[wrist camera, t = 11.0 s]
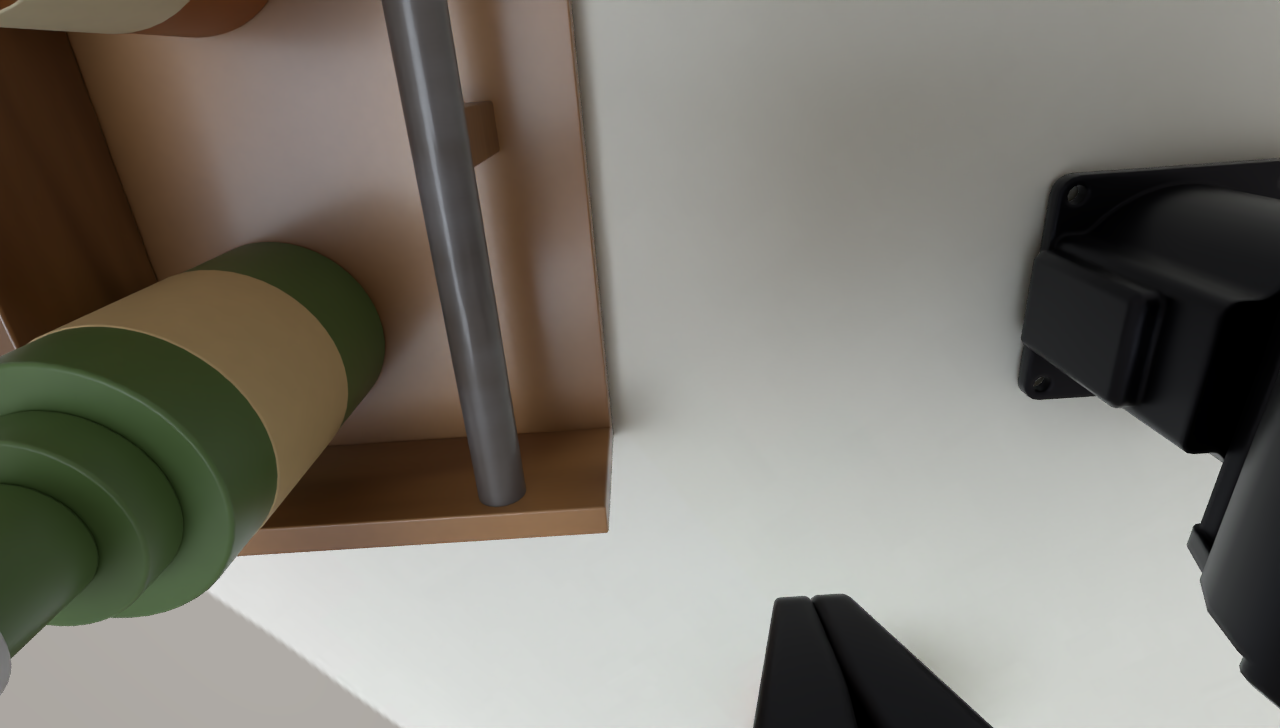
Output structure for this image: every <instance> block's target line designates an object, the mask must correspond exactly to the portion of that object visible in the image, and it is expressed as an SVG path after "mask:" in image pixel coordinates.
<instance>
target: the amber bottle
mask: <svg viewBox="0 0 1280 728" xmlns="http://www.w3.org/2000/svg"><path fill="white" fill-rule="evenodd" d="M267 1H268V0H0V27H4V28H20V29H37V30H53V31H70V32H86V33H103V34H122V33H129V34H144V35H160V36H176V37H193V38H200V37H211V36H216V35H220V34H224V33H227V32H229V31H231V30H234V29H236V28H238V27H240V26H241V25H243V24H245V23H246V22H248V21H249V20H251V19H252V18H253V17H254V16H255V15H256V14H257V13H258V12H259V11H260V10H261V9H262V8H263V7H264V5H265V4H266V3H267Z"/></svg>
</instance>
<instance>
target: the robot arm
mask: <svg viewBox="0 0 1280 728" xmlns="http://www.w3.org/2000/svg"><path fill="white" fill-rule="evenodd" d="M1075 186H1078V194H1077V196H1076V197H1075V198H1074V199H1073V200H1072V201H1068V194H1069V191H1070V190H1071V189H1072V188H1073V187H1075ZM1021 340H1022V342H1023V343H1024V348H1023V354H1022V359H1021V365H1020V371H1019V377H1018V386H1019V388H1020V389H1021V391H1023V392H1024V393H1025V394H1026V395H1027V396H1029V397H1030V398H1032V399H1037V400H1043V399H1058V398H1073V397H1089V396H1097V397H1098V398H1100V399H1101V400H1103V401H1104V402H1105V403H1107V404H1108V405H1110V406H1111V407H1114V408H1123V409H1125V410H1126V411H1128V412H1129V413H1131V414H1132V415H1133V416H1135V417H1136V418H1138V419H1139V420H1141V421H1142V422H1143V423H1145V424H1146V425H1148V426H1149V427H1151V428H1152V429H1153V430H1155V431H1156V432H1158V433H1159V434H1161V435H1162V436H1163V437H1165V438H1166V439H1168V440H1169V441H1171V442H1172V443H1174V444H1175V445H1176V446H1178V447H1179V448H1181V449H1182V450H1184V451H1185V452H1186V453H1191V454H1200V453H1210V454H1211V455H1213V456H1214V457H1216V458H1217V459H1218V460H1220V461H1221V462H1223V464H1222V467H1221V470H1220V472H1219V475H1218V478H1217V480H1216V483H1215V486H1214V489H1213V491H1212V494H1211V497H1210V500H1209V502H1208V505H1207V508H1206V510H1205V513H1204V516H1203V519H1202V521H1201V523H1200V524H1195V525H1194V526H1193V529H1192V532H1191V535H1190V537H1189V540H1188V543H1187V547H1188V549H1189V551H1190V553H1191V554H1192V556H1193V558H1194V560H1195V561H1196V563H1197V565H1198V567H1199V568H1200V570H1201V572H1202V575H1201V578H1200V583H1201V587H1202V591H1203V595H1204V599H1205V603H1206V607H1207V611H1208V612H1209V614H1210V615H1211V616H1212V618H1213V619H1214V620H1215V622H1216V623H1217V624H1218V626H1219V627H1220V628H1221V630H1222V631H1223V632H1224V634H1225V635H1226V636H1227V638H1228V639H1229V640H1230V642H1231V643H1232V644H1233V646H1234V647H1235V648H1236V650H1237V651H1238V652H1239V653H1240V654H1241V655H1242V656H1243V658H1242V661H1241V663H1240V665H1239V666H1240V672H1241V673H1242V674H1243V676H1244V677H1245V678H1246V679H1247V681H1248V682H1249V683H1250V684H1251V685H1252V686H1253V687H1254V688H1255V689H1257V690H1258V691H1259V692H1260V693H1261V694H1263V695H1264V696H1265V697H1266V698H1267V699H1269V700H1270V701H1271V702H1272V703H1273V704H1275V705H1276V706H1277V707H1278V708H1279V709H1280V158H1277V159H1263V160H1249V161H1235V162H1221V163H1207V164H1193V165H1179V166H1165V167H1152V168H1138V169H1124V170H1110V171H1096V172H1082V173H1071V174H1067V175H1064V176H1063V177H1061V178H1060V179H1058V180H1057V181H1056V182H1055V184H1054V185H1053V186H1052V189H1051V192H1050V195H1049V201H1048V207H1047V213H1046V218H1045V224H1044V230H1043V236H1042V242H1041V248H1040V253H1039V254H1038V256H1037V257H1036V258H1035V259H1034V264H1033V270H1032V276H1031V282H1030V288H1029V294H1028V300H1027V306H1026V312H1025V318H1024V323H1023V329H1022V335H1021ZM1040 377H1044V378H1043V381H1042V382H1041V383H1040V384H1039V385H1037V386H1034V387H1033V385H1034V383H1035V381H1036V380H1037V379H1038V378H1040ZM753 728H993V727H992V726H991V725H990V724H989V723H987V722H986V721H985V720H984V719H983V718H982V717H981V716H980V715H979V714H978V713H977V712H975V711H974V710H973V709H972V708H971V707H970V706H969V705H968V704H967V703H966V702H964V701H963V700H962V699H961V698H960V697H959V696H958V695H957V694H956V693H955V692H954V691H952V690H951V689H950V688H949V687H948V686H947V685H946V684H945V683H944V682H943V681H942V680H940V679H939V678H938V677H937V676H936V675H935V674H934V673H933V672H932V671H931V670H929V669H928V668H927V667H926V666H925V665H924V664H923V663H922V662H921V661H920V660H919V659H917V658H916V657H915V656H914V655H913V654H912V653H911V652H910V651H909V650H908V649H907V648H905V647H904V646H903V645H902V644H901V643H900V642H899V641H898V640H897V639H896V638H895V637H893V636H892V635H891V634H890V633H889V632H888V631H887V630H886V629H885V628H884V627H882V626H881V625H880V624H879V623H878V622H877V621H876V620H875V619H874V618H873V617H872V616H870V615H869V614H868V613H867V612H866V611H865V610H864V609H863V608H862V607H861V606H860V605H858V604H857V603H856V602H855V601H854V600H853V599H852V598H851V597H849V596H847V595H845V594H828V595H816V596H814V597H813V598H812V599H811V600H810V599H809V598H808V597H806V596H796V597H781V598H777V599H776V600H775V602H774V606H773V612H772V618H771V624H770V630H769V636H768V642H767V648H766V654H765V660H764V666H763V672H762V678H761V684H760V690H759V696H758V702H757V708H756V714H755V720H754V725H753Z"/></svg>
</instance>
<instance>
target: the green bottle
mask: <svg viewBox="0 0 1280 728" xmlns="http://www.w3.org/2000/svg"><path fill="white" fill-rule="evenodd" d="M384 354H385V339H384V333H383V328H382V324H381V321H380V318H379V315H378V313H377V311H376V308H375V306H374V304H373V303H372V301H371V299H370V298H369V296H368V294H367V293H366V292H365V290H364V289H363V288H362V287H361V285H360V284H359V283H358V282H357V281H356V280H355V279H354V278H353V277H352V276H351V275H350V274H349V273H348V272H347V271H345V270H344V269H343V268H342V267H340V266H339V265H338V264H336V263H335V262H333V261H332V260H330V259H328V258H327V257H325V256H323V255H321V254H319V253H317V252H314V251H312V250H309V249H306V248H304V247H300V246H296V245H292V244H288V243H279V242H259V243H252V244H247V245H244V246H240V247H237V248H235V249H233V250H230V251H228V252H226V253H224V254H222V255H220V256H217V257H215V258H213V259H211V260H209V261H207V262H204V263H202V264H200V265H198V266H196V267H193V268H191V269H189V270H187V271H185V272H183V273H180V274H177V275H174V276H171V277H168V278H166V279H164V280H162V281H160V282H157V283H155V284H153V285H151V286H149V287H147V288H144V289H142V290H140V291H138V292H136V293H133V294H131V295H129V296H127V297H125V298H122V299H120V300H118V301H116V302H114V303H112V304H109V305H107V306H105V307H103V308H101V309H98V310H96V311H94V312H92V313H90V314H87V315H85V316H83V317H81V318H79V319H77V320H74V321H72V322H70V323H68V324H66V325H63V326H61V327H59V328H57V329H55V330H52V331H50V332H48V333H46V334H44V335H42V336H39V337H37V338H35V339H34V340H32V341H31V342H29V343H28V344H26V345H24V346H22V347H20V348H18V349H15V350H13V351H11V352H9V353H7V354H5V355H2V356H0V695H1V694H2V693H3V691H4V689H5V687H6V685H7V683H8V681H9V677H10V674H11V658H12V657H13V656H14V655H15V654H16V653H17V652H18V651H19V650H21V649H22V648H23V647H24V646H25V645H26V644H27V643H28V642H29V641H30V640H31V639H32V638H33V637H34V636H35V635H36V634H37V633H38V632H39V631H40V630H41V629H42V628H43V627H45V626H46V625H54V626H77V625H86V624H91V623H95V622H99V621H102V620H105V619H108V618H110V617H111V618H132V617H140V616H150V615H154V614H158V613H162V612H166V611H169V610H172V609H175V608H177V607H180V606H182V605H184V604H186V603H188V602H190V601H192V600H193V599H195V598H197V597H198V596H200V595H201V594H203V593H204V592H205V591H206V590H208V589H209V588H210V587H211V586H212V585H213V584H214V583H215V582H216V581H217V580H218V579H219V578H220V576H221V575H222V574H223V573H224V571H225V570H226V569H227V568H228V566H229V565H230V564H231V563H232V561H233V560H234V559H235V558H236V556H237V555H238V554H239V553H240V551H241V550H242V549H243V548H244V546H245V545H246V544H247V543H248V542H249V540H250V539H251V538H252V537H253V536H254V535H255V534H256V533H257V532H258V531H259V530H260V528H261V527H262V526H263V525H264V524H265V523H266V522H267V520H268V519H269V518H270V517H271V515H272V514H273V513H274V512H275V510H276V509H277V508H278V507H279V505H280V504H281V503H282V502H283V500H284V499H285V498H286V497H287V495H288V494H289V493H290V492H291V490H292V489H293V488H294V487H295V485H296V484H297V483H298V482H299V480H300V479H301V478H302V477H303V475H304V474H305V473H306V472H307V470H308V469H309V468H310V467H311V465H312V464H313V463H314V462H315V460H316V459H317V458H318V457H319V455H320V454H321V453H322V452H323V450H324V449H325V448H326V447H327V445H328V444H329V443H330V442H331V440H332V439H333V438H334V436H335V435H336V433H337V432H338V430H339V429H340V427H341V426H342V425H343V424H344V422H345V421H346V420H347V419H348V417H349V416H350V415H351V414H352V412H353V411H354V410H355V409H356V407H357V406H358V405H359V404H360V402H361V401H362V400H363V399H364V397H365V396H366V395H367V394H368V392H369V391H370V390H371V389H372V387H373V386H374V384H375V383H376V381H377V379H378V377H379V374H380V372H381V369H382V365H383V362H384Z"/></svg>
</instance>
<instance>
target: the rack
mask: <svg viewBox="0 0 1280 728" xmlns="http://www.w3.org/2000/svg"><path fill="white" fill-rule="evenodd" d="M259 242H279V243H288V244H292V245H296V246H300V247H304V248H306V249H309V250H312V251H314V252H317V253H319V254H321V255H323V256H325V257H327V258H328V259H330V260H332V261H333V262H335V263H336V264H338V265H339V266H340V267H342V268H343V269H344V270H345V271H347V272H348V273H349V274H350V275H351V276H352V277H353V278H354V279H355V280H356V281H357V282H358V283H359V284H360V285H361V287H362V288H363V289H364V290H365V292H366V293H367V294H368V296H369V298H370V299H371V301H372V303H373V304H374V306H375V308H376V311H377V313H378V315H379V318H380V321H381V324H382V328H383V333H384V339H385V354H384V362H383V365H382V369H381V372H380V374H379V377H378V379H377V381H376V383H375V384H374V386H373V387H372V389H371V390H370V391H369V392H368V394H367V395H366V396H365V397H364V399H363V400H362V401H361V402H360V404H359V405H358V406H357V407H356V409H355V410H354V411H353V412H352V414H351V415H350V416H349V417H348V419H347V420H346V421H345V422H344V424H343V425H342V426H341V427H340V429H339V430H338V432H337V433H336V435H335V436H334V438H333V439H332V440H331V442H330V443H329V444H328V445H327V447H326V448H325V449H324V450H323V452H322V453H321V454H320V455H319V457H318V458H317V459H316V460H315V462H314V463H313V464H312V465H311V467H310V468H309V469H308V470H307V472H306V473H305V474H304V475H303V477H302V478H301V479H300V480H299V482H298V483H297V484H296V485H295V487H294V488H293V489H292V490H291V492H290V493H289V494H288V495H287V497H286V498H285V499H284V500H283V502H282V503H281V504H280V505H279V507H278V508H277V509H276V510H275V512H274V513H273V514H272V515H271V517H270V518H269V519H268V520H267V522H266V523H265V524H264V525H263V526H262V527H261V528H260V530H259V531H258V532H257V533H256V534H255V535H254V536H253V537H252V538H251V539H250V540H249V542H248V543H247V544H246V545H245V546H244V548H243V549H242V550H241V551H240V553H239V554H238V555H237V556H247V555H262V554H278V553H294V552H310V551H326V550H341V549H357V548H373V547H389V546H405V545H421V544H436V543H452V542H468V541H484V540H500V539H515V538H531V537H547V536H563V535H579V534H594V533H607V532H608V530H609V514H610V494H611V474H612V453H613V427H612V417H611V406H610V396H609V386H608V375H607V365H606V355H605V344H604V334H603V324H602V314H601V303H600V293H599V283H598V272H597V262H596V252H595V241H594V231H593V221H592V210H591V200H590V190H589V179H588V169H587V159H586V148H585V138H584V128H583V117H582V107H581V97H580V87H579V76H578V66H577V56H576V45H575V35H574V25H573V14H572V4H571V0H268V1H267V3H266V4H265V5H264V7H263V8H262V9H261V10H260V11H259V12H258V13H257V14H256V15H255V16H254V17H253V18H252V19H251V20H249V21H248V22H246V23H245V24H243V25H241V26H240V27H238V28H236V29H234V30H231V31H229V32H227V33H224V34H220V35H216V36H211V37H200V38H193V37H176V36H160V35H144V34H129V33H122V34H103V33H86V32H70V31H53V30H37V29H20V28H4V27H0V356H2V355H5V354H7V353H9V352H11V351H13V350H15V349H18V348H20V347H22V346H24V345H26V344H28V343H29V342H31V341H32V340H34V339H35V338H37V337H39V336H42V335H44V334H46V333H48V332H50V331H52V330H55V329H57V328H59V327H61V326H63V325H66V324H68V323H70V322H72V321H74V320H77V319H79V318H81V317H83V316H85V315H87V314H90V313H92V312H94V311H96V310H98V309H101V308H103V307H105V306H107V305H109V304H112V303H114V302H116V301H118V300H120V299H122V298H125V297H127V296H129V295H131V294H133V293H136V292H138V291H140V290H142V289H144V288H147V287H149V286H151V285H153V284H155V283H157V282H160V281H162V280H164V279H166V278H168V277H171V276H174V275H177V274H180V273H183V272H185V271H187V270H189V269H191V268H193V267H196V266H198V265H200V264H202V263H204V262H207V261H209V260H211V259H213V258H215V257H217V256H220V255H222V254H224V253H226V252H228V251H230V250H233V249H235V248H237V247H240V246H244V245H247V244H252V243H259Z"/></svg>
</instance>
